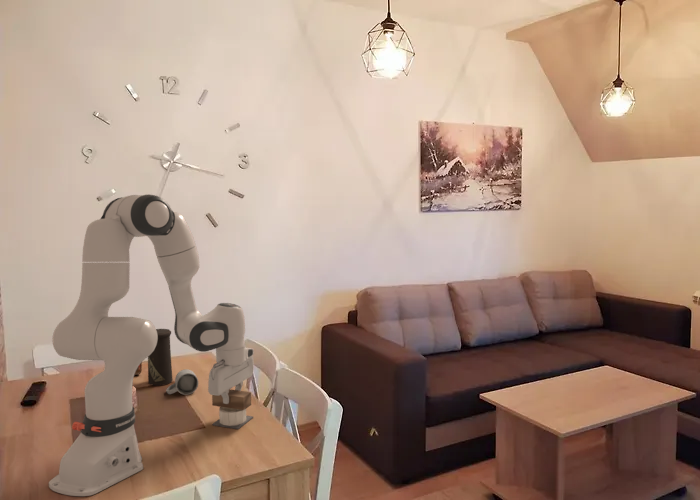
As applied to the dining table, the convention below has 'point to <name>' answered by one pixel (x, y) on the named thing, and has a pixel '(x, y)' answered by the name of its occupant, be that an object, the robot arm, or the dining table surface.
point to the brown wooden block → (234, 400)
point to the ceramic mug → (184, 383)
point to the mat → (233, 425)
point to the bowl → (231, 416)
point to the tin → (138, 369)
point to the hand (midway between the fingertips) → (232, 399)
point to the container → (160, 360)
